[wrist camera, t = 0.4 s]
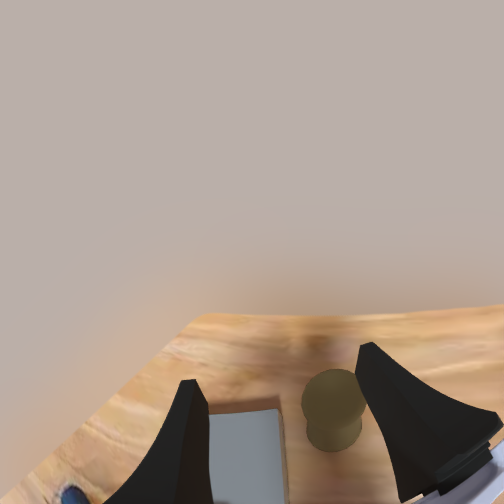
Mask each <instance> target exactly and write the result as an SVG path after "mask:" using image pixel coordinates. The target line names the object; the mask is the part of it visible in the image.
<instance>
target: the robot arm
mask: <svg viewBox="0 0 504 504" xmlns="http://www.w3.org/2000/svg"><path fill="white" fill-rule="evenodd" d="M355 375H356V378H357V381H358V384H359V387H360V389H361V392H362V394H363V396H364V398H365V400H366V402H367V404H368V406H369V408H370V410H371V412H372V414H373V416H374V418H375V419H376V421H377V423H378V425H379V427H380V430H381V432H382V434H383V437H384V440H385V443H386V446H387V449H388V452H389V455H390V459H391V462H392V466H393V470H394V474H395V479H396V484H397V489H398V496H399V499H400V502H401V503H404V502H406V501H408V500H410V499H412V498H414V497H416V496H418V495H420V494H421V493H422V494H423V496H424V497H423V498H421V499H419V500H417V501H416V502H414V503H412V504H491V503H492V502H493V501H494V500H495V499H496V498H497V497H498V496H499V495H500V494H501V492H502V491H503V490H504V439H503V440H501V441H500V442H499V443H498V444H497V445H496V446H495V447H494V448H493V449H491V450H490V451H489V449H488V447H490V443H489V440H490V439H491V438H492V437H493V436H494V435H495V434H496V433H497V432H498V431H499V430H500V429H501V428H502V427H503V425H504V424H503V422H502V421H501V419H500V418H499V416H498V415H497V413H496V412H493V411H488V410H484V409H480V408H476V407H473V406H470V405H467V404H464V403H462V402H460V401H457V400H455V399H453V398H450V397H448V396H446V395H444V394H442V393H440V392H439V391H437V390H435V389H433V388H432V387H430V386H428V385H427V384H425V383H424V382H422V381H421V380H419V379H418V378H417V377H415V376H414V375H412V374H411V373H410V372H408V371H407V370H406V369H405V368H403V367H402V366H401V365H399V364H398V363H397V362H396V361H395V360H393V359H392V358H391V357H390V356H389V355H387V354H386V353H385V352H384V351H383V350H382V349H380V348H379V347H378V346H377V345H376V344H375V343H373V342H369V343H366V344H363V345H360V349H359V354H358V359H357V364H356V369H355ZM209 440H210V421H209V410H208V403H207V401H206V399H205V397H204V395H203V393H202V391H201V389H200V387H199V385H198V383H197V381H196V379H191V380H182V381H181V382H180V384H179V387H178V390H177V393H176V395H175V398H174V400H173V403H172V405H171V408H170V410H169V412H168V415H167V417H166V419H165V421H164V423H163V426H162V428H161V429H160V431H159V433H158V435H157V437H156V439H155V441H154V443H153V444H152V446H151V448H150V449H149V451H148V453H147V454H146V456H145V457H144V459H143V460H142V462H141V463H140V464H139V466H138V467H137V469H136V470H135V471H134V472H133V474H132V475H131V476H130V477H129V478H128V479H127V481H126V482H125V483H124V484H123V485H122V486H121V487H120V488H119V489H118V490H117V491H116V492H115V493H114V494H113V495H112V496H111V497H110V498H109V499H107V500H106V501H105V502H104V503H103V504H214V502H213V495H212V489H211V481H210V473H209Z"/></svg>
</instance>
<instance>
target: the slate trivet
mask: <svg viewBox="0 0 504 504" xmlns="http://www.w3.org/2000/svg"><path fill="white" fill-rule="evenodd" d="M209 421H210V440H209V473H210V481H211V489H212V495H213V502H214V504H289V494H288V481H287V468H286V456H285V444H284V433H283V421H282V415H281V414H280V412H279V410H278V409H270V410H262V411H253V412H243V413H231V414H215V415H209Z"/></svg>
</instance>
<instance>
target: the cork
mask: <svg viewBox="0 0 504 504" xmlns="http://www.w3.org/2000/svg"><path fill="white" fill-rule="evenodd" d="M366 403H367V402H366V400H365V398H364V396H363V394H362V392H361V389H360V387H359V384H358V381H357V378H356V375H355V374H354V373H352V372H350V371H348V370H342V369H332V370H327V371H325V372H322V373H320V374H318V375H317V376H315V377H314V378H312V379H311V381H310V382H309V383H308V384H307V385H306V388H305V390H304V392H303V395H302V403H301V406H302V409H303V413H304V416H305V417H306V418H307V420H308V422H307V436H308V439H309V441H310V442H311V443H312V444H313V446H315V447H316V448H318V449H320V450H323V451H327V452H336V451H340V450H343V449H346V448H347V447H349V446H350V445H352V444H353V443H354V442H355V441H356V439H357V438H358V437H359V434H360V431H361V429H362V422H361V415H362V414H363V412H364V410H365V407H366Z"/></svg>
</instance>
